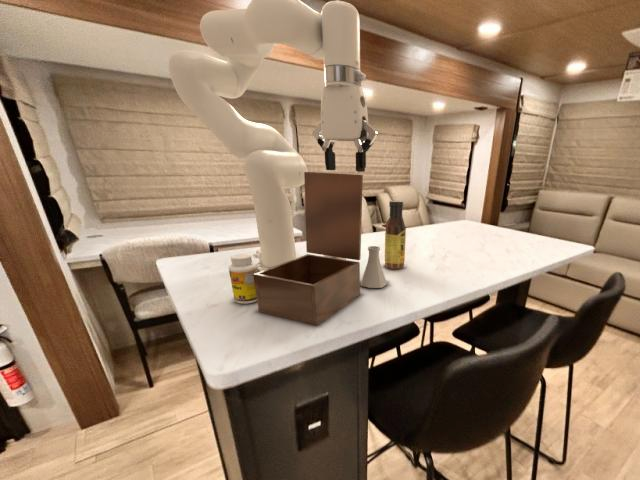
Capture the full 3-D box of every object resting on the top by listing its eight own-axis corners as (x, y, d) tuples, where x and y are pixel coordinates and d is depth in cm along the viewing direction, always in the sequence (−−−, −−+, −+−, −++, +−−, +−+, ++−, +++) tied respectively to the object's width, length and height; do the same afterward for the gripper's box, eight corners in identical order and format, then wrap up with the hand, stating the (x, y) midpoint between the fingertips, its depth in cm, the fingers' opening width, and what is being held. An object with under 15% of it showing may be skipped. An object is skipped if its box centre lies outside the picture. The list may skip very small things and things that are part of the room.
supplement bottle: (230, 299, 70) (221, 255, 66) (254, 293, 74) (247, 251, 70) (241, 306, 67) (233, 261, 63) (266, 299, 71) (259, 256, 66)
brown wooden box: (317, 325, 60) (314, 286, 57) (258, 311, 65) (252, 274, 62) (360, 294, 75) (359, 262, 72) (310, 285, 80) (307, 254, 77)
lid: (361, 174, 66) (370, 176, 70) (304, 171, 70) (316, 173, 74) (358, 260, 71) (367, 257, 76) (306, 252, 76) (317, 249, 80)
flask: (383, 290, 79) (384, 252, 75) (356, 287, 80) (355, 249, 76) (389, 281, 85) (390, 245, 81) (364, 278, 86) (364, 243, 82)
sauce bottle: (404, 270, 94) (407, 202, 87) (383, 269, 94) (385, 201, 86) (404, 264, 100) (407, 200, 93) (385, 263, 100) (386, 199, 93)
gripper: (387, 83, 66) (385, 172, 73) (318, 87, 72) (323, 169, 79) (371, 73, 60) (371, 172, 67) (297, 78, 65) (304, 169, 72)
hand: (345, 170), depth 73 cm, fingers open, 7 cm apart
